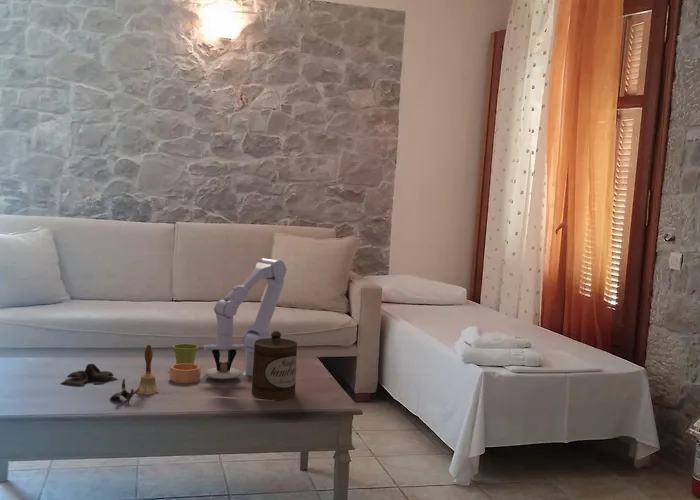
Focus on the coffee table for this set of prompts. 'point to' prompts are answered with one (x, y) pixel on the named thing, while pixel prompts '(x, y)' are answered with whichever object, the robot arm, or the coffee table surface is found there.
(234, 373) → the lid
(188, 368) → the bowl
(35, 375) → the coffee table surface
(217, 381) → the mat
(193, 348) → the plant pot
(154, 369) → the coffee table surface
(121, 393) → the eagle figurine
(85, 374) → the cloth
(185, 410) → the coffee table surface
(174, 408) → the coffee table surface
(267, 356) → the wooden container
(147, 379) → the hand bell
